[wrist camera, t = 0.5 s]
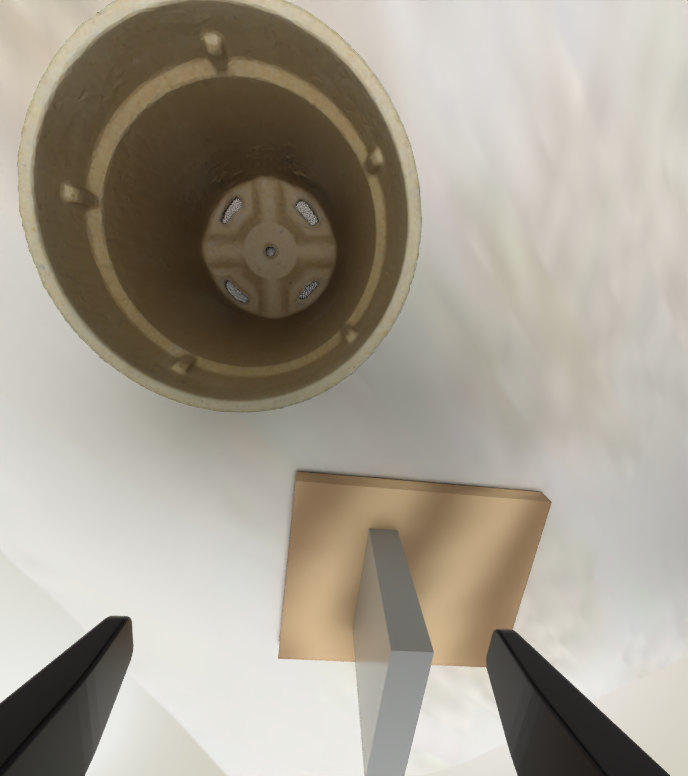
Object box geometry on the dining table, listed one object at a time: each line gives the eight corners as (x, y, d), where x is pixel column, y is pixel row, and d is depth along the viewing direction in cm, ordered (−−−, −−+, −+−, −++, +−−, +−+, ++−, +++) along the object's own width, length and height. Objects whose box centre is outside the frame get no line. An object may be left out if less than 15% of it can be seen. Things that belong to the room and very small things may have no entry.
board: (541, 491, 21) (551, 501, 20) (493, 652, 25) (500, 667, 24) (296, 471, 20) (295, 480, 19) (279, 643, 23) (278, 658, 22)
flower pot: (407, 189, 17) (490, 99, 8) (333, 380, 19) (341, 457, 11) (200, 95, 15) (55, -122, 7) (147, 313, 18) (-11, 341, 9)
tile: (399, 530, 20) (435, 652, 14) (380, 630, 22) (404, 781, 16) (368, 528, 20) (391, 650, 14) (352, 629, 22) (365, 780, 15)
